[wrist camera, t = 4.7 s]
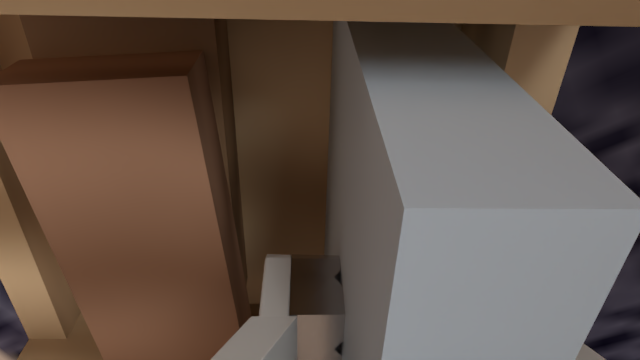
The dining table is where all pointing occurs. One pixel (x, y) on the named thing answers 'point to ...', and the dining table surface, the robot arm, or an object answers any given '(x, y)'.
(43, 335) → the tray
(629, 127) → the dining table surface
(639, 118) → the dining table surface
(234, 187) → the offcut
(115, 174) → the offcut
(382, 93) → the grey block
